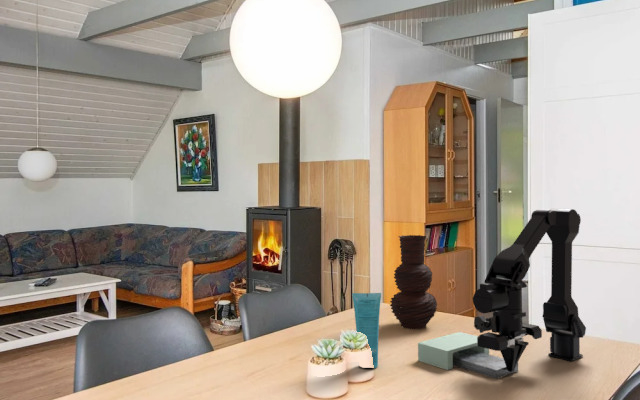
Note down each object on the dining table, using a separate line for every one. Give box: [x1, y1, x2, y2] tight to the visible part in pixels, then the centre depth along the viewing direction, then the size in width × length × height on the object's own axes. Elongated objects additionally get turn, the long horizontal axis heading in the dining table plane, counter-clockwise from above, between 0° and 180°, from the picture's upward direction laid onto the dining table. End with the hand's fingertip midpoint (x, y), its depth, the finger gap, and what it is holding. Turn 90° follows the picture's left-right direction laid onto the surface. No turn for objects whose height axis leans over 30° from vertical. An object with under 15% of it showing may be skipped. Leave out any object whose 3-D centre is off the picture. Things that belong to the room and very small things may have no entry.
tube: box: [351, 292, 382, 369], centre depth 146 cm, size 7×5×19 cm, turn 96°
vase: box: [389, 234, 438, 330], centre depth 186 cm, size 15×15×30 cm
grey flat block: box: [453, 349, 519, 380], centre depth 145 cm, size 18×9×2 cm, turn 38°
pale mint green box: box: [417, 331, 490, 371], centre depth 151 cm, size 10×17×5 cm, turn 127°
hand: (510, 371), depth 137 cm, fingers closed, pressing on grey flat block
